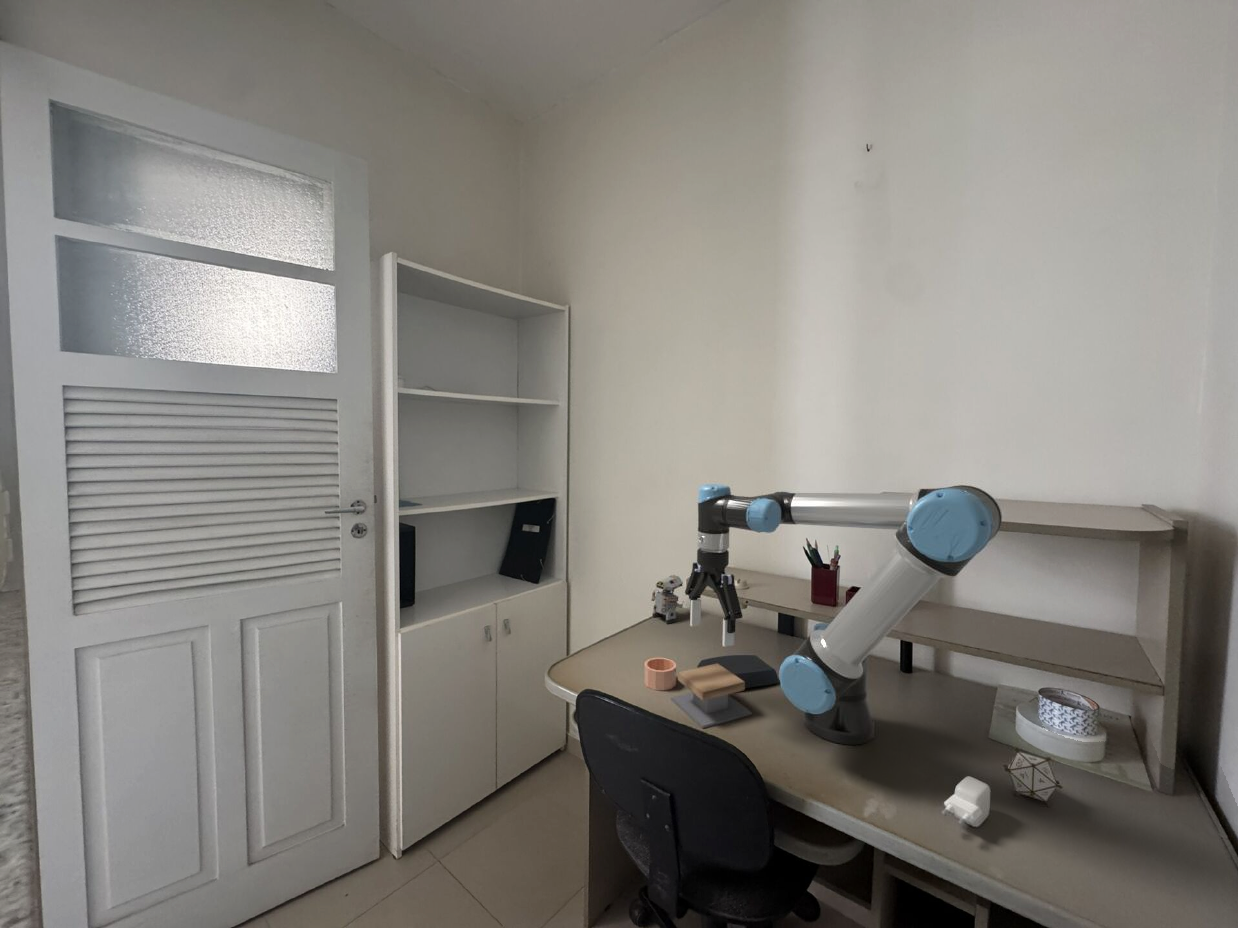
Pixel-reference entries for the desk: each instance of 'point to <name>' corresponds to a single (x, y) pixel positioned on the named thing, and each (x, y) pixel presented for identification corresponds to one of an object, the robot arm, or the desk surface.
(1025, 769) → the game die
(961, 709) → the desk surface
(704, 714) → the cube on square base
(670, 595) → the figurine
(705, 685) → the lid
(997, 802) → the desk surface
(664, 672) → the bowl
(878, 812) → the desk surface
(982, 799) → the power adapter
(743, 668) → the external hard drive
